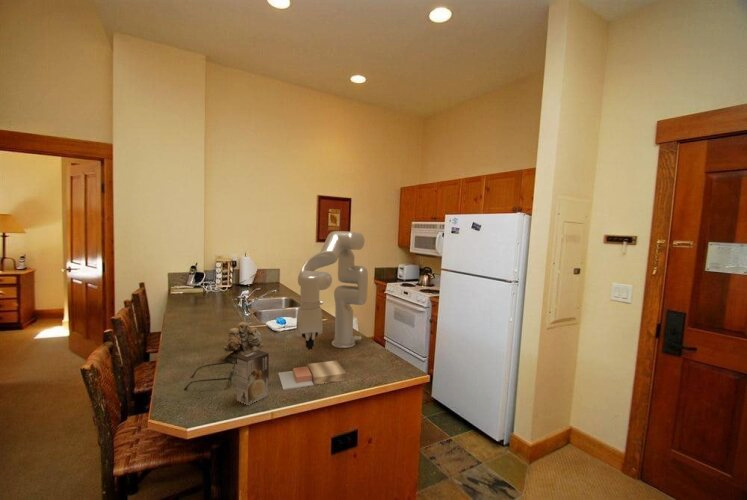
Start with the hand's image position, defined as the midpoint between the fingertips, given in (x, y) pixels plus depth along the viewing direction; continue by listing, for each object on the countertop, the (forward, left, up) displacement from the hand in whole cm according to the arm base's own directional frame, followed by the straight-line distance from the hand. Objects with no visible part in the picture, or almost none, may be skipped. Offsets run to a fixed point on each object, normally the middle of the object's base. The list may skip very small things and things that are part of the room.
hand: (309, 348), depth 138 cm
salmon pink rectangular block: (+3, +1, -10) cm, 11 cm away
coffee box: (+22, +11, -12) cm, 28 cm away
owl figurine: (+24, -29, -13) cm, 40 cm away
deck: (-7, +1, -12) cm, 14 cm away
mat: (+6, +1, -12) cm, 13 cm away
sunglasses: (+37, -8, -13) cm, 40 cm away
